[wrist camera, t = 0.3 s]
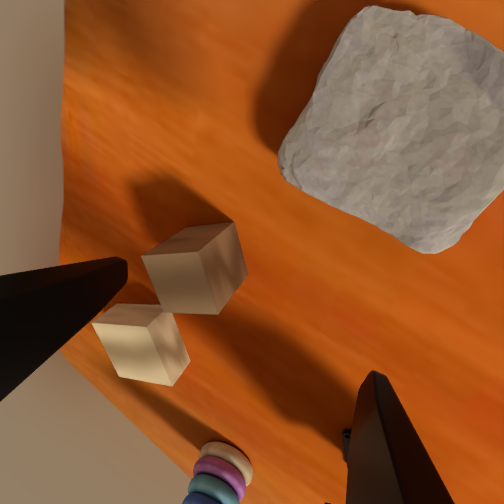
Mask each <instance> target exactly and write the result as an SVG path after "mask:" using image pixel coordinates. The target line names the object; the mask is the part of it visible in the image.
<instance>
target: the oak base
mask: <svg viewBox="0 0 504 504" xmlns="http://www.w3.org/2000/svg"><path fill="white" fill-rule="evenodd" d="M92 325H93V327H94V329H95V331H96V333H97V334H98V336H99V338H100V340H101V342H102V344H103V346H104V348H105V350H106V352H107V354H108V356H109V358H110V360H111V362H112V364H113V365H114V367H115V369H116V371H117V373H118V375H119V377H123V378H129V379H134V380H140V381H145V382H151V383H156V384H162V385H167V386H173V385H174V383H175V382H176V381H177V379H178V378H179V376H180V375H181V374H182V372H183V371H184V369H185V368H186V367H187V365H188V364H189V362H190V358H189V356H188V353H187V351H186V348H185V345H184V343H183V340H182V337H181V335H180V332H179V330H178V327H177V324H176V322H175V319H174V317H173V314H172V313H164V312H163V309H162V307H161V305H148V304H120V303H117V304H115V305H114V306H113V307H111V308H110V309H109V310H107V311H106V312H105V313H104V314H102V315H101V316H100V317H98V318H97V319H96V320H94V321H93V322H92Z"/></svg>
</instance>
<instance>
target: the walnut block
mask: <svg viewBox="0 0 504 504" xmlns="http://www.w3.org/2000/svg"><path fill="white" fill-rule="evenodd" d="M141 258H142V260H143V262H144V265H145V267H146V270H147V272H148V275H149V277H150V280H151V282H152V285H153V287H154V289H155V292H156V294H157V297H158V299H159V302H160V304H161V307H162V309H163V312H164V313H188V314H216V315H218V314H219V313H220V311H221V310H222V309H223V307H224V306H225V305H226V303H227V302H228V301H229V299H230V298H231V297H232V295H233V294H234V293H235V291H236V290H237V288H238V287H239V286H240V284H241V283H242V282H243V280H244V279H245V278H246V276H247V275H248V272H247V269H246V265H245V261H244V257H243V253H242V249H241V246H240V242H239V238H238V234H237V230H236V226H235V223H234V222H228V223H219V224H211V225H202V226H194V227H185V228H184V229H182V230H181V231H179V232H178V233H176V234H174V235H173V236H171V237H170V238H168V239H167V240H165V241H164V242H162V243H160V244H159V245H157V246H156V247H154V248H153V249H151V250H149V251H148V252H146V253H145V254H143V255H142V256H141Z"/></svg>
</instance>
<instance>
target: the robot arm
mask: <svg viewBox="0 0 504 504" xmlns="http://www.w3.org/2000/svg"><path fill="white" fill-rule="evenodd" d="M127 279H128V263H127V261H126V260H124V259H122V258H120V257H110V258H103V259H97V260H91V261H85V262H79V263H73V264H67V265H61V266H55V267H49V268H43V269H37V270H31V271H25V272H19V273H13V274H7V275H1V276H0V402H1V401H2V400H3V399H4V398H5V397H6V396H7V395H8V394H9V393H11V392H12V391H13V390H14V389H15V388H16V387H17V386H18V385H19V384H21V383H22V382H23V381H24V380H25V379H26V378H27V377H28V376H30V375H31V374H32V373H33V372H34V371H35V370H36V369H37V368H38V367H39V366H41V365H42V364H43V363H44V362H45V361H46V360H47V359H48V358H49V357H51V356H52V355H53V354H54V353H55V352H56V351H57V350H58V349H60V348H61V347H62V346H63V345H64V344H65V343H66V342H67V341H68V340H70V339H71V338H72V337H73V336H74V335H75V334H76V333H77V332H79V331H80V330H81V329H82V328H83V327H84V326H85V325H86V324H87V323H89V322H90V321H91V320H92V319H93V318H94V317H95V316H96V315H97V314H98V313H99V312H100V311H101V310H102V309H103V308H104V307H105V306H106V305H107V304H108V302H109V301H110V300H111V299H112V298H113V297H114V296H115V295H116V294H117V293H118V292H119V290H120V289H121V288H122V287H123V286H124V285H125V284H126V282H127ZM342 436H343V443H344V449H345V455H346V461H347V468H348V475H347V492H346V504H455V503H454V502H453V500H452V498H451V496H450V494H449V492H448V490H447V488H446V487H445V485H444V483H443V481H442V479H441V477H440V475H439V473H438V472H437V470H436V468H435V466H434V464H433V462H432V460H431V458H430V457H429V455H428V453H427V451H426V449H425V447H424V445H423V444H422V442H421V440H420V438H419V436H418V434H417V432H416V430H415V429H414V427H413V425H412V423H411V421H410V419H409V417H408V415H407V414H406V412H405V410H404V408H403V406H402V404H401V402H400V400H399V399H398V397H397V395H396V393H395V391H394V389H393V387H392V385H391V384H390V382H389V380H388V378H387V377H386V376H385V375H383V374H381V373H379V372H377V371H374V370H372V371H371V372H370V373H369V374H368V376H367V377H366V379H365V380H364V381H363V383H362V384H361V386H360V388H359V391H358V396H357V402H356V408H355V413H354V419H353V425H352V430H343V434H342ZM325 504H330V503H326V502H325Z"/></svg>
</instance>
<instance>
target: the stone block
mask: <svg viewBox="0 0 504 504" xmlns="http://www.w3.org/2000/svg"><path fill="white" fill-rule="evenodd" d="M278 166H279V168H280V170H281V175H283V177H284V179H285V180H286V181H287V182H289V183H291V184H292V185H294V186H296V187H297V188H299V189H300V190H302V191H303V192H305V193H307V194H309V195H310V196H313V197H315V198H317V199H319V200H321V201H323V202H325V203H327V204H328V205H331V206H333V207H335V208H337V209H339V210H341V211H343V212H346V213H348V214H351V215H354V216H356V217H358V218H361V219H363V220H365V221H367V222H369V223H371V224H373V225H375V226H377V227H378V228H380V229H381V230H383V231H385V232H387V233H389V234H391V235H392V236H394V237H395V238H397V239H398V240H399V241H401V242H402V243H404V244H405V245H406V246H408V247H410V248H412V249H414V250H416V251H418V252H420V253H428V254H436V253H439V252H441V251H443V250H445V249H447V248H449V247H451V246H453V245H454V244H455V243H456V242H457V241H459V240H460V237H461V235H462V234H463V233H464V232H465V231H466V230H468V229H469V227H470V226H471V224H472V223H473V221H474V220H475V219H476V218H477V217H478V216H479V215H480V214H481V212H482V211H483V210H484V209H485V208H486V207H487V206H488V205H489V204H490V203H491V202H492V201H493V200H494V199H495V198H496V197H497V196H498V195H499V194H500V193H501V192H502V191H503V190H504V52H502V51H501V50H500V49H498V48H497V47H495V46H494V45H493V44H492V43H490V42H489V41H488V40H487V39H485V38H484V37H482V36H480V35H478V34H476V33H474V32H473V31H471V30H466V29H465V28H463V27H462V26H461V25H459V24H457V23H455V22H454V21H452V20H451V19H448V18H445V17H441V16H436V15H425V14H421V15H417V16H416V15H415V14H414V13H413V12H411V11H410V10H406V11H396V10H392V9H389V8H384V7H380V6H377V5H372V6H367V7H365V8H364V9H363V10H361V11H360V12H358V13H357V14H356V15H355V16H354V17H353V18H351V19H350V21H349V22H348V23H347V25H346V26H345V27H344V29H343V31H342V32H341V34H340V35H339V37H338V39H337V40H336V42H335V44H334V47H333V49H332V51H331V53H330V55H329V57H328V59H327V61H326V62H325V63H324V65H323V67H322V69H321V71H320V73H319V74H318V78H317V82H316V85H315V89H314V92H313V95H312V97H311V98H310V101H309V102H308V104H307V105H306V107H305V108H304V109H303V111H302V112H301V114H300V116H299V117H298V119H297V121H296V123H295V124H294V126H293V127H292V128H291V129H290V130H289V132H288V133H287V135H286V137H285V139H284V140H283V142H282V145H281V146H280V149H279V151H278Z"/></svg>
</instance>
